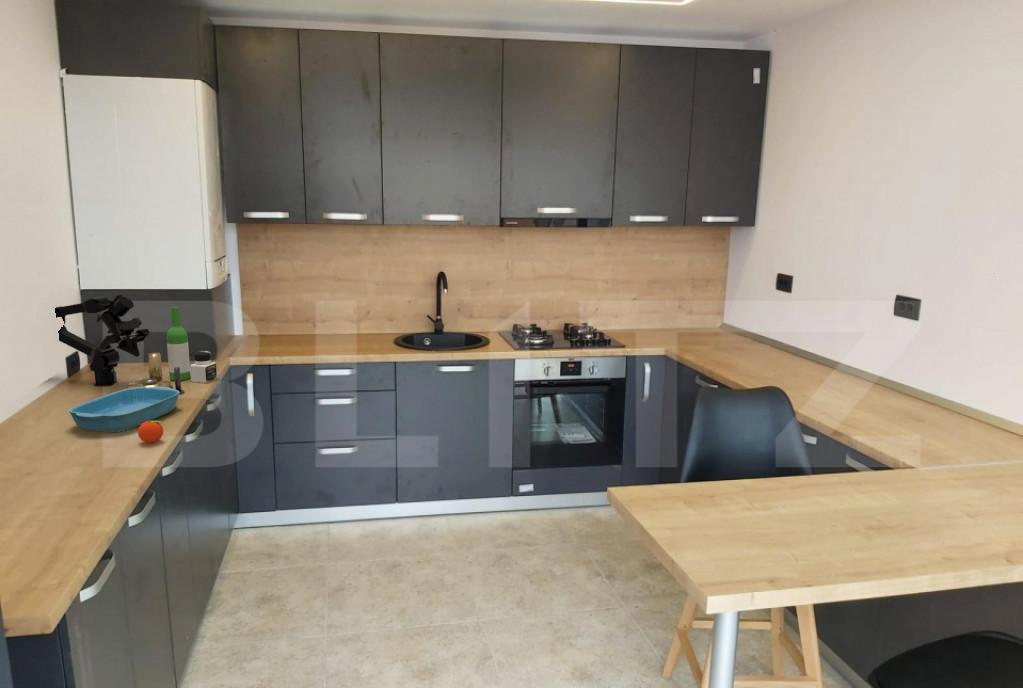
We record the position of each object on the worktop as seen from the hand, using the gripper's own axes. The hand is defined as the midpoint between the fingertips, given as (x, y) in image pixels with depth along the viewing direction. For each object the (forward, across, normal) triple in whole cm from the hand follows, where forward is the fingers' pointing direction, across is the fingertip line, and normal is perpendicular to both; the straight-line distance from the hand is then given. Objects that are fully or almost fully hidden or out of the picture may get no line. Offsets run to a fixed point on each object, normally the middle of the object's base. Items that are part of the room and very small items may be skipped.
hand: (138, 356), depth 263 cm
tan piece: (+14, -5, -1) cm, 15 cm away
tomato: (+44, -42, -28) cm, 67 cm away
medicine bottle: (+18, +20, 0) cm, 27 cm away
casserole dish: (+27, -28, -9) cm, 40 cm away
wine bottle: (+11, +17, +7) cm, 22 cm away
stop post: (+21, +2, -4) cm, 21 cm away
